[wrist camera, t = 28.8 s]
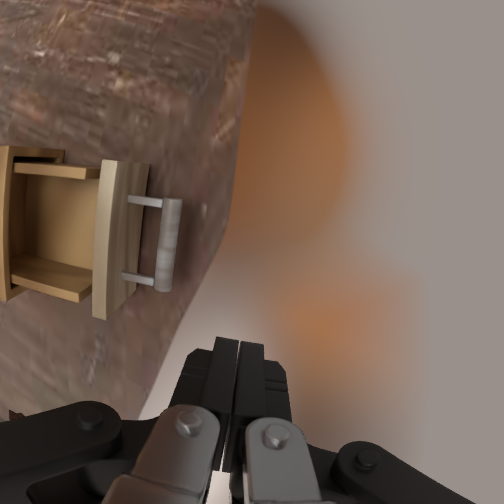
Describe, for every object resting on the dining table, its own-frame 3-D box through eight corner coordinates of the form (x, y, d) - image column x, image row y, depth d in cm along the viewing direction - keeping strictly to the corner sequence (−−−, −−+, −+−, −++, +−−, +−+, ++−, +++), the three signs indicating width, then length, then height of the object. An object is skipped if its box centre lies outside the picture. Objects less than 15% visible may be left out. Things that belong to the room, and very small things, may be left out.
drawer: (197, 170, 26) (177, 168, 19) (179, 299, 29) (158, 333, 22) (31, 154, 26) (-13, 153, 19) (25, 263, 28) (-15, 282, 22)
